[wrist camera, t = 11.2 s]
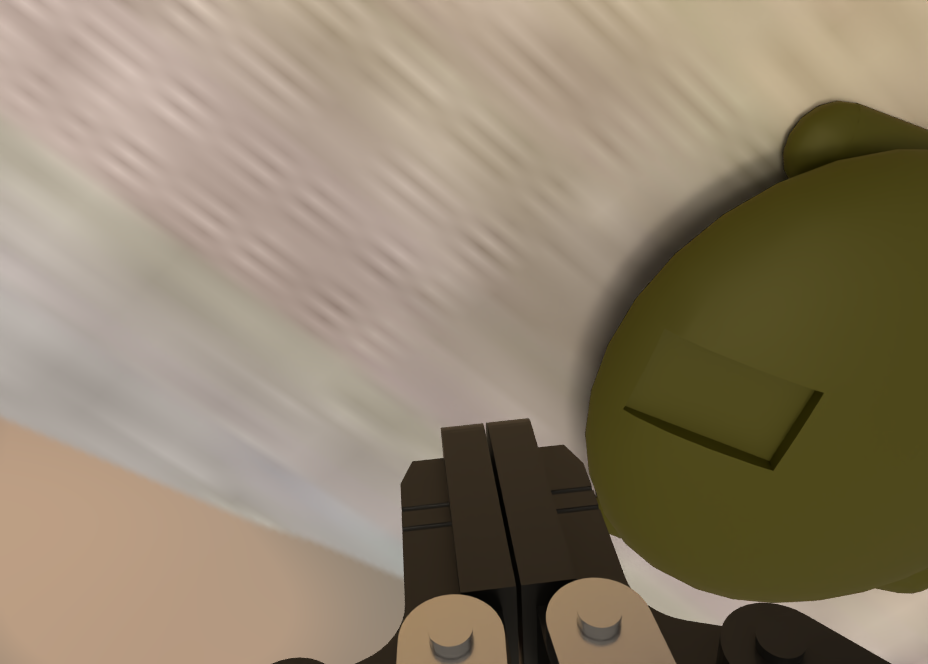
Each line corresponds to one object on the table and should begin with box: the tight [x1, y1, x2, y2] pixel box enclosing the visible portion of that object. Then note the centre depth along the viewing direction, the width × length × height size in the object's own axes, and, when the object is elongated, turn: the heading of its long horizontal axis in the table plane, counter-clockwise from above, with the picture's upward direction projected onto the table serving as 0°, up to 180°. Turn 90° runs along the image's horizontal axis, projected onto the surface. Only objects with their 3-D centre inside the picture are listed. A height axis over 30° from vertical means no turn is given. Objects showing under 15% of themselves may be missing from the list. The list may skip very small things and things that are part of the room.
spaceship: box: [585, 101, 928, 603], centre depth 45 cm, size 35×31×10 cm
